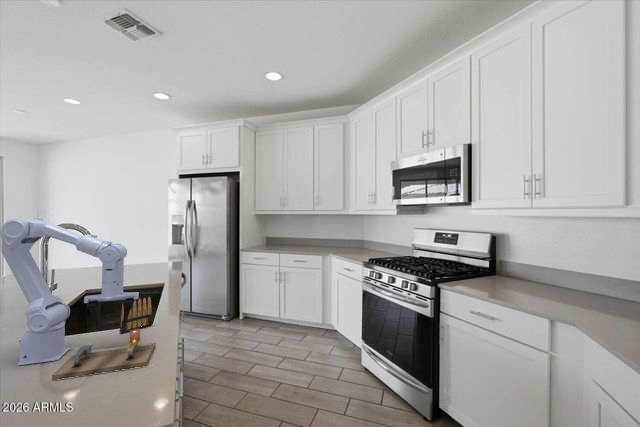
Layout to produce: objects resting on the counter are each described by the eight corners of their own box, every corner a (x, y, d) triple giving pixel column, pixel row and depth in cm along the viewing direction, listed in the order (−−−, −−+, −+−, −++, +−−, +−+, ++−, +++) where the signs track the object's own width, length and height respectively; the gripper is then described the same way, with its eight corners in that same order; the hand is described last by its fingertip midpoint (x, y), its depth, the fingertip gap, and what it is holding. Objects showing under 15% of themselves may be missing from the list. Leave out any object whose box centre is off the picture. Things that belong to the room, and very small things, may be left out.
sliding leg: (124, 359, 83) (124, 338, 83) (130, 348, 90) (131, 329, 90) (135, 357, 84) (135, 336, 84) (141, 347, 91) (141, 328, 91)
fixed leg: (70, 367, 79) (70, 357, 79) (81, 356, 85) (82, 346, 85) (80, 366, 80) (81, 355, 80) (91, 354, 86) (91, 344, 86)
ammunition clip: (150, 325, 114) (151, 295, 115) (152, 326, 113) (152, 296, 113) (119, 333, 106) (120, 301, 106) (121, 334, 105) (121, 302, 105)
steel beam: (69, 360, 83) (69, 355, 83) (72, 357, 84) (72, 352, 84) (150, 349, 90) (150, 344, 90) (151, 347, 92) (151, 342, 92)
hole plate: (51, 381, 75) (52, 375, 75) (74, 358, 87) (75, 353, 87) (146, 366, 83) (146, 361, 83) (155, 347, 95) (155, 342, 95)
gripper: (80, 285, 86) (78, 330, 86) (135, 282, 91) (134, 324, 91) (89, 280, 92) (88, 321, 92) (140, 277, 97) (139, 317, 97)
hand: (111, 322), depth 92 cm, fingers open, 7 cm apart
